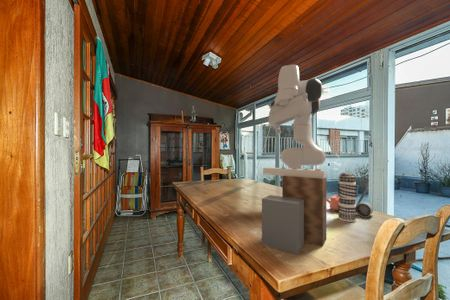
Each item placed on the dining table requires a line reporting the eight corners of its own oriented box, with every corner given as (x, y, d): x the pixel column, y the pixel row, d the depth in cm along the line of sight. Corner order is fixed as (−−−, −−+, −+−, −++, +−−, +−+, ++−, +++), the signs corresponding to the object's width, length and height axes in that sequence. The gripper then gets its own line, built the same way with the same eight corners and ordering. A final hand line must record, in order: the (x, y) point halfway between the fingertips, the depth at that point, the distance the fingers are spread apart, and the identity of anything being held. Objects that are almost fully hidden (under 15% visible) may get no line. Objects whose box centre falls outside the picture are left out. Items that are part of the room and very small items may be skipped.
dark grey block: (261, 244, 81) (261, 198, 81) (270, 237, 88) (270, 195, 88) (297, 254, 73) (297, 203, 73) (303, 246, 80) (303, 199, 80)
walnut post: (282, 236, 89) (282, 176, 89) (288, 230, 95) (288, 174, 95) (322, 246, 79) (322, 179, 80) (326, 239, 86) (326, 177, 86)
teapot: (323, 208, 133) (323, 193, 133) (341, 207, 134) (341, 193, 134) (333, 213, 122) (333, 197, 122) (353, 213, 122) (353, 196, 122)
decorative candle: (336, 220, 110) (336, 173, 110) (338, 215, 118) (338, 171, 118) (356, 223, 105) (356, 174, 105) (357, 218, 113) (357, 172, 113)
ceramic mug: (374, 215, 118) (373, 201, 118) (371, 218, 112) (371, 204, 113) (353, 211, 126) (352, 199, 126) (349, 214, 120) (349, 201, 120)
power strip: (263, 174, 96) (263, 166, 96) (266, 173, 100) (266, 166, 100) (323, 178, 81) (323, 169, 81) (325, 177, 84) (325, 169, 84)
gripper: (313, 92, 79) (312, 126, 76) (278, 109, 97) (276, 137, 94) (300, 87, 76) (299, 122, 73) (267, 106, 94) (264, 134, 91)
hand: (286, 131), depth 84 cm, fingers open, 8 cm apart
